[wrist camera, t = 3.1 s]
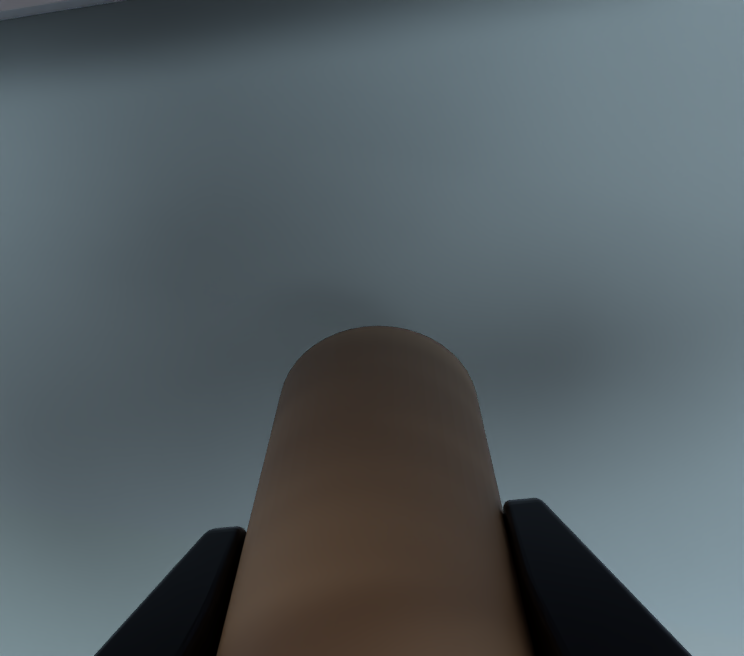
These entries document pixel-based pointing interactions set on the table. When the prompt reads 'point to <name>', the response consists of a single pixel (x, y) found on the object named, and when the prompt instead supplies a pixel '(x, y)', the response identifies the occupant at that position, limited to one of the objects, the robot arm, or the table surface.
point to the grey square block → (42, 6)
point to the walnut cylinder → (377, 513)
